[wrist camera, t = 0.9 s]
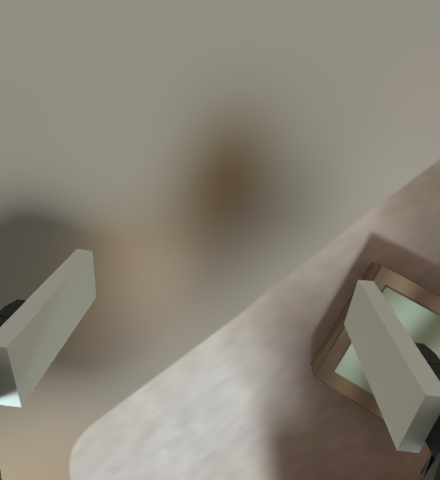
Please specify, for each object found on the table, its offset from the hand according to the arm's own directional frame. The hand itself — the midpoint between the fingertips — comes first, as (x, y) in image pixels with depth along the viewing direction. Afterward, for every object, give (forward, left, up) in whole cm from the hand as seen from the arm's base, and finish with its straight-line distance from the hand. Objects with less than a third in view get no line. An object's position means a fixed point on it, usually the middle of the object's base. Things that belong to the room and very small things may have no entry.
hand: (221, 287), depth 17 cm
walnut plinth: (-20, +1, -31) cm, 37 cm away
